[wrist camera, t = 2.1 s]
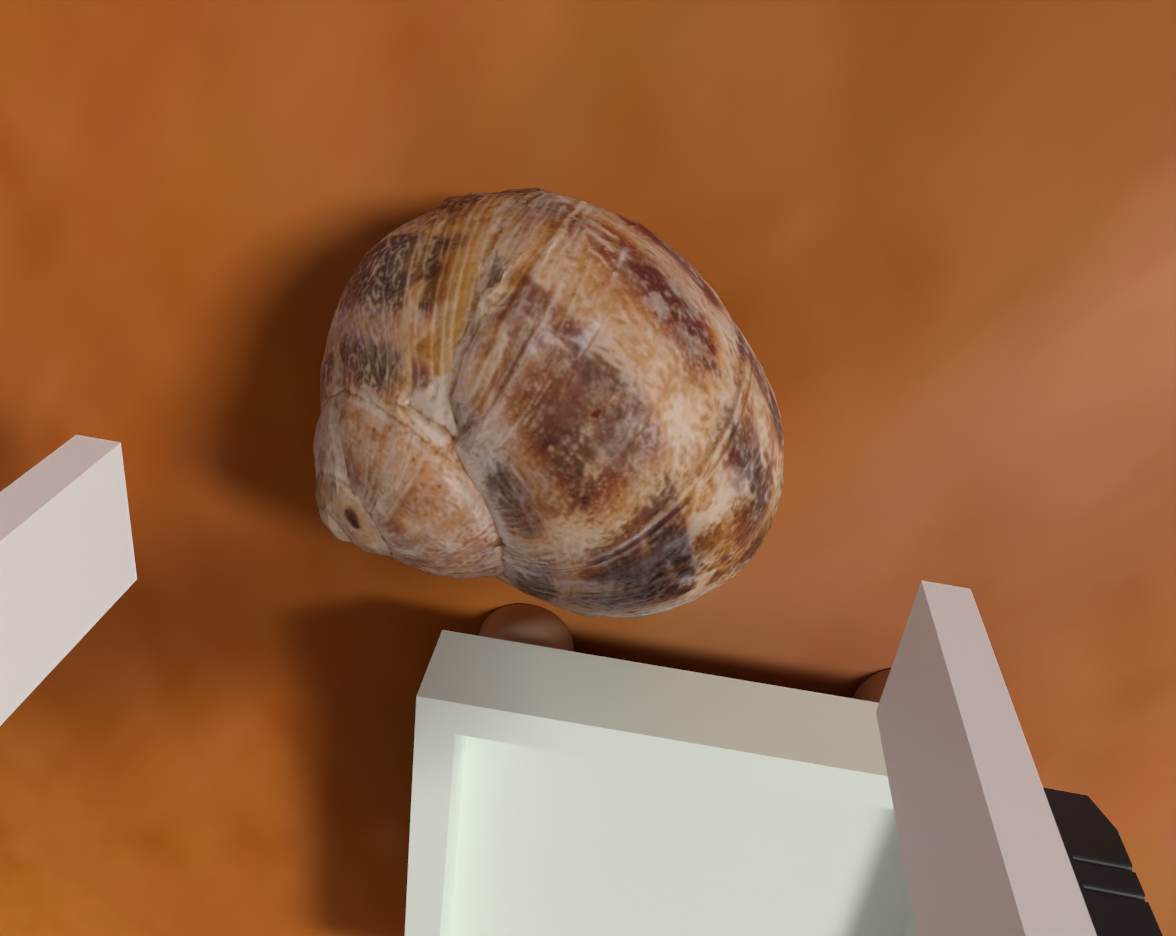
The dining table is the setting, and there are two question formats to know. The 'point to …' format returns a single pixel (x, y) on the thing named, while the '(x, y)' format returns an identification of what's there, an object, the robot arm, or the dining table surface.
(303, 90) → the dining table surface
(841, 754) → the shallow white square tray
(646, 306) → the seashell
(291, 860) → the dining table surface
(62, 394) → the dining table surface
